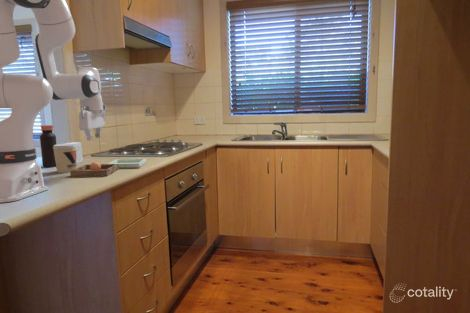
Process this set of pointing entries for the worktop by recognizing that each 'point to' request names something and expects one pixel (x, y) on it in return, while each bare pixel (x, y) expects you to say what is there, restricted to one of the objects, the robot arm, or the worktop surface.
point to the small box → (78, 151)
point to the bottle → (48, 146)
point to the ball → (95, 166)
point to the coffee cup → (65, 157)
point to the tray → (129, 163)
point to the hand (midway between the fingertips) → (94, 139)
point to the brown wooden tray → (87, 172)
